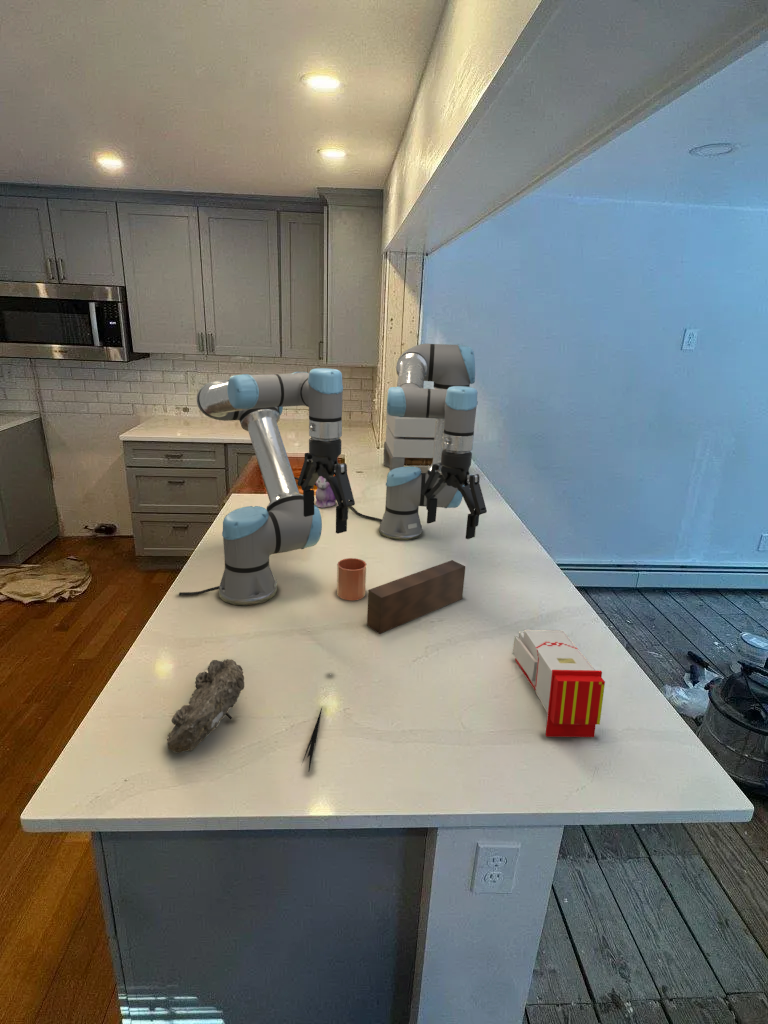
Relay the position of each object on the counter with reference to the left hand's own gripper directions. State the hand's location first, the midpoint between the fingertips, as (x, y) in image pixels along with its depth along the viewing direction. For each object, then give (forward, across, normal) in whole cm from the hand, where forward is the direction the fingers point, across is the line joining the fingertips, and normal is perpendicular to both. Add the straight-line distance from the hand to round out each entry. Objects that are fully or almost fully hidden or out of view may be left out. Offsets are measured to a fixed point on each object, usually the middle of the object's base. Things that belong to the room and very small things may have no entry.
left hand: (324, 523), depth 138 cm
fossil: (+25, +20, -40) cm, 51 cm away
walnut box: (+25, +14, +20) cm, 35 cm away
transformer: (+25, -82, +114) cm, 142 cm away
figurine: (+25, -69, +49) cm, 88 cm away
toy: (+25, +55, +19) cm, 63 cm away
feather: (+25, +33, -24) cm, 47 cm away
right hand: (+4, +14, +30) cm, 33 cm away
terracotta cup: (+25, -4, +12) cm, 28 cm away
